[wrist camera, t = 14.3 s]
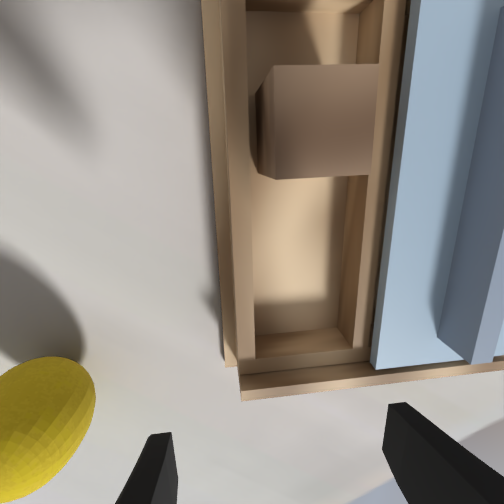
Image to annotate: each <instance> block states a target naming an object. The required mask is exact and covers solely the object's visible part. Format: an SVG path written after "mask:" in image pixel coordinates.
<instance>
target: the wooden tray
mask: <svg viewBox="0 0 504 504" xmlns="http://www.w3.org/2000/svg"><path fill="white" fill-rule="evenodd" d="M410 6H411V0H201V8H202V23H203V38H204V53H205V68H206V83H207V99H208V114H209V129H210V144H211V159H212V174H213V189H214V204H215V219H216V234H217V250H218V265H219V280H220V295H221V310H222V325H223V340H224V355H225V367H234V366H237V367H238V376H239V384H240V393H241V401H249V400H257V399H265V398H274V397H282V396H290V395H299V394H307V393H315V392H324V391H332V390H340V389H349V388H357V387H365V386H374V385H382V384H390V383H399V382H407V381H415V380H424V379H432V378H440V377H449V376H457V375H465V374H474V373H482V372H491V371H499V370H504V355H501V356H494V357H493V361H492V362H491V363H482V364H473V365H470V364H469V363H468V362H467V361H466V360H457V361H448V362H439V363H430V364H421V365H413V366H404V367H395V368H386V369H377V370H376V369H375V368H374V367H373V366H372V364H371V363H370V356H371V347H372V338H373V329H374V321H375V312H376V303H377V294H378V286H379V277H380V268H381V259H382V251H383V242H384V233H385V224H386V216H387V207H388V198H389V190H390V181H391V172H392V163H393V155H394V146H395V137H396V128H397V120H398V111H399V102H400V93H401V85H402V76H403V67H404V58H405V50H406V41H407V32H408V23H409V15H410ZM329 64H379V76H378V89H377V102H376V115H375V127H374V140H373V153H372V166H371V175H354V176H336V177H318V178H301V179H283V180H275V179H272V178H269V177H267V176H264V175H261V174H259V173H258V161H257V134H256V107H255V93H256V91H257V90H258V88H259V87H260V85H261V84H262V82H263V81H264V79H265V78H266V76H267V75H268V73H269V72H270V70H271V69H272V67H273V66H274V65H329Z"/></svg>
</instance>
